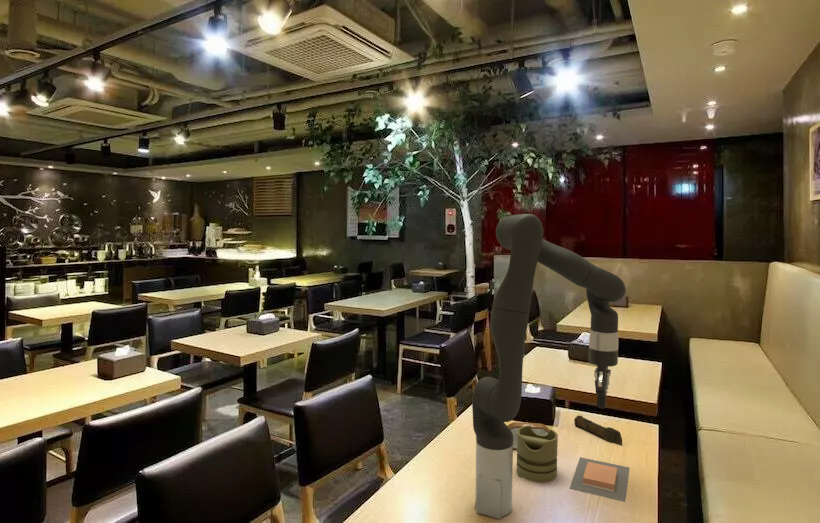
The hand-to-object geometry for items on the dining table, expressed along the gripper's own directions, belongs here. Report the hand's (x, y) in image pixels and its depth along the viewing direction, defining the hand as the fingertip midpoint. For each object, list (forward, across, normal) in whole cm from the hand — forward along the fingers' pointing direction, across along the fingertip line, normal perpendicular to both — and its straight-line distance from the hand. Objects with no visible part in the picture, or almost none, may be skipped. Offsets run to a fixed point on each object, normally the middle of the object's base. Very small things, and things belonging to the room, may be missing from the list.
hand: (601, 407), depth 138 cm
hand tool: (+22, +31, +3) cm, 38 cm away
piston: (+21, -4, +17) cm, 27 cm away
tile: (+20, +5, 0) cm, 20 cm away
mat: (+21, +1, 0) cm, 21 cm away
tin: (+21, +10, +23) cm, 33 cm away
